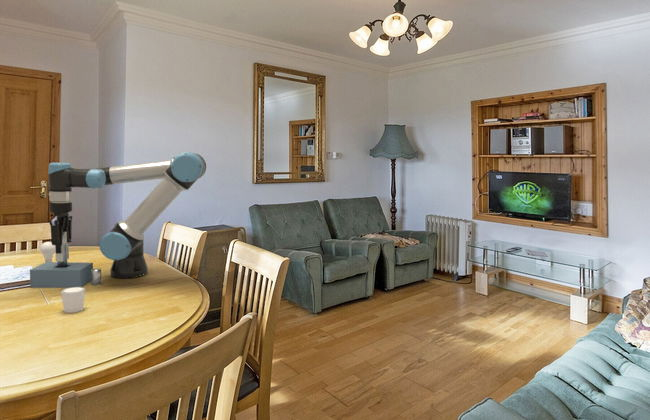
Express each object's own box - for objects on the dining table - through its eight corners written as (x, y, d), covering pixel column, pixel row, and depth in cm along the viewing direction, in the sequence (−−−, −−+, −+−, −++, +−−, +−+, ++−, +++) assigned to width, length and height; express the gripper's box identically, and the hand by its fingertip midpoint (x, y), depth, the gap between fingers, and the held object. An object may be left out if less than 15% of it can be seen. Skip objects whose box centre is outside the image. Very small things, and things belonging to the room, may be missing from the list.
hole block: (93, 278, 172) (92, 262, 171) (80, 287, 160) (79, 270, 159) (46, 278, 169) (46, 262, 168) (30, 287, 157) (29, 269, 157)
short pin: (102, 282, 167) (102, 268, 167) (99, 285, 164) (99, 270, 163) (93, 282, 167) (93, 268, 166) (90, 285, 164) (89, 270, 163)
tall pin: (69, 269, 166) (68, 231, 164) (65, 271, 163) (63, 232, 161) (60, 269, 165) (58, 230, 164) (55, 271, 162) (54, 232, 160)
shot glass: (79, 304, 142) (79, 285, 142) (89, 309, 138) (88, 289, 138) (58, 309, 137) (57, 289, 136) (67, 315, 133) (66, 294, 132)
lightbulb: (39, 267, 185) (38, 243, 184) (41, 263, 191) (40, 240, 189) (56, 266, 188) (55, 242, 187) (57, 262, 194) (56, 240, 192)
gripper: (60, 199, 168) (62, 254, 171) (38, 203, 152) (41, 264, 155) (80, 200, 169) (81, 255, 172) (60, 204, 153) (62, 265, 156)
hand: (62, 259), depth 163 cm, fingers closed on tall pin, 3 cm apart
